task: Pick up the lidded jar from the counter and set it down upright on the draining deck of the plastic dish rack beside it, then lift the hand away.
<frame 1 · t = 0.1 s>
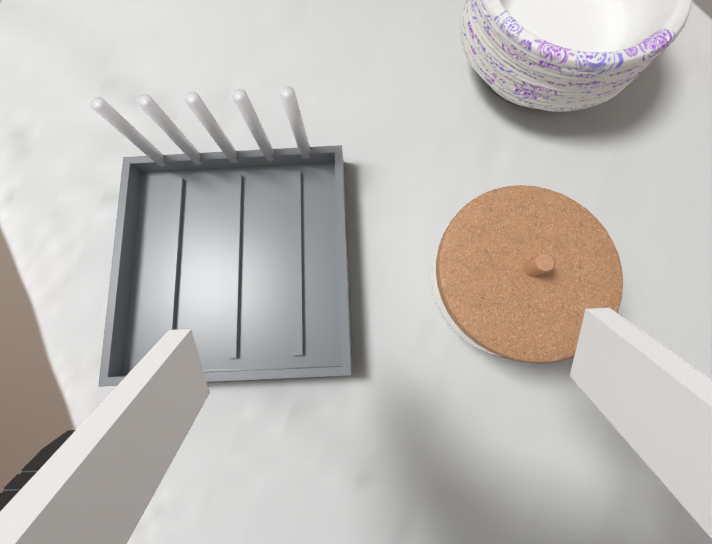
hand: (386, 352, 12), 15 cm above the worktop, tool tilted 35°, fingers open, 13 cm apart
lidded jar: (483, 289, 27), on the worktop
dish rack: (240, 265, 28), on the worktop
paper bowls: (530, 66, 32), on the worktop
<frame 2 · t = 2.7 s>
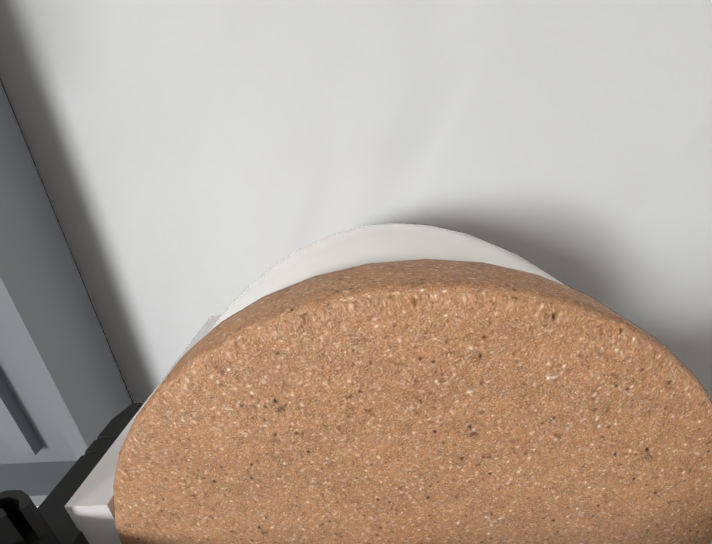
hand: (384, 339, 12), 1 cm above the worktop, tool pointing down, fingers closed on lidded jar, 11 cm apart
lidded jar: (382, 322, 13), on the worktop, touching gripper
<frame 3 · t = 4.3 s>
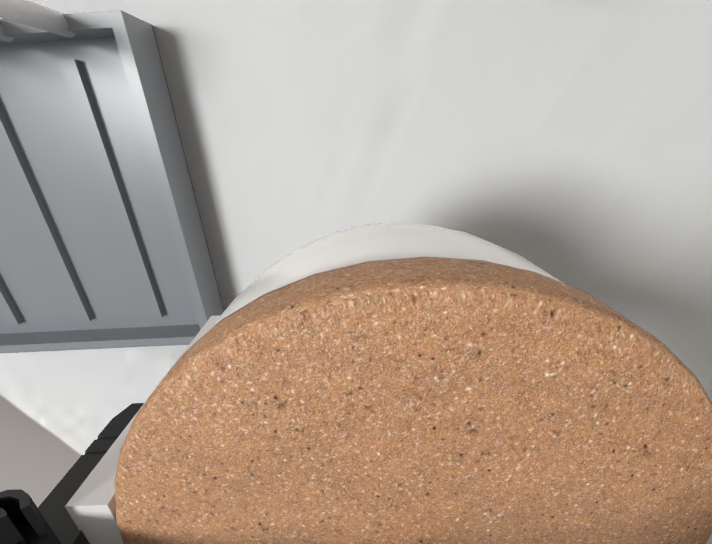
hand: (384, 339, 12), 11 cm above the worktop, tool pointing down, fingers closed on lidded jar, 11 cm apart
lidded jar: (382, 321, 13), point 10 cm above the worktop, touching gripper
dish rack: (54, 208, 21), on the worktop
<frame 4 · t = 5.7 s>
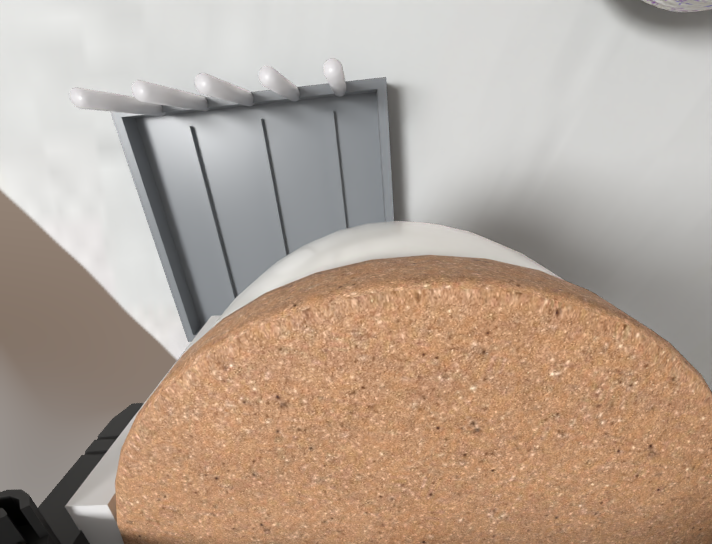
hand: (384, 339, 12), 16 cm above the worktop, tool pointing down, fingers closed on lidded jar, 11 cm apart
lidded jar: (383, 321, 13), point 15 cm above the worktop, touching gripper
dish rack: (279, 221, 27), on the worktop
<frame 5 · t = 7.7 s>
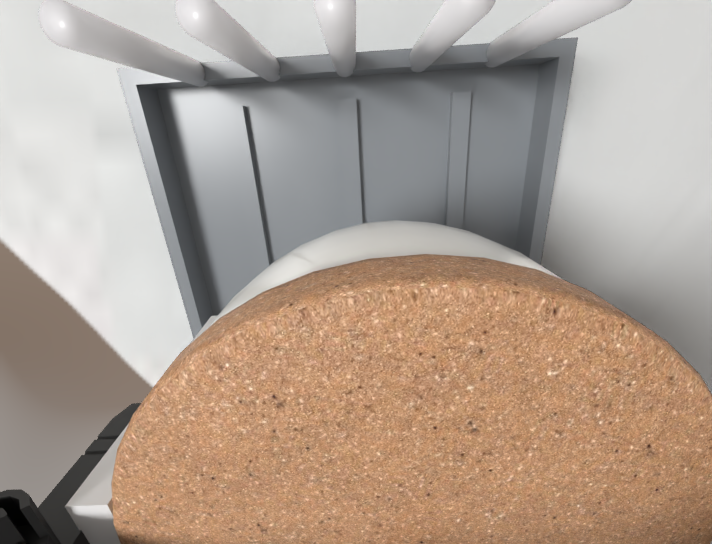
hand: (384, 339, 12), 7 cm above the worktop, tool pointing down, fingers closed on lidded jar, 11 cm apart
lidded jar: (382, 321, 13), point 6 cm above the worktop, touching gripper
dish rack: (356, 250, 19), on the worktop
when the fingers open (4 cm above the worktop, at t = 9.0 s): lidded jar drops 1 cm, resting on dish rack.
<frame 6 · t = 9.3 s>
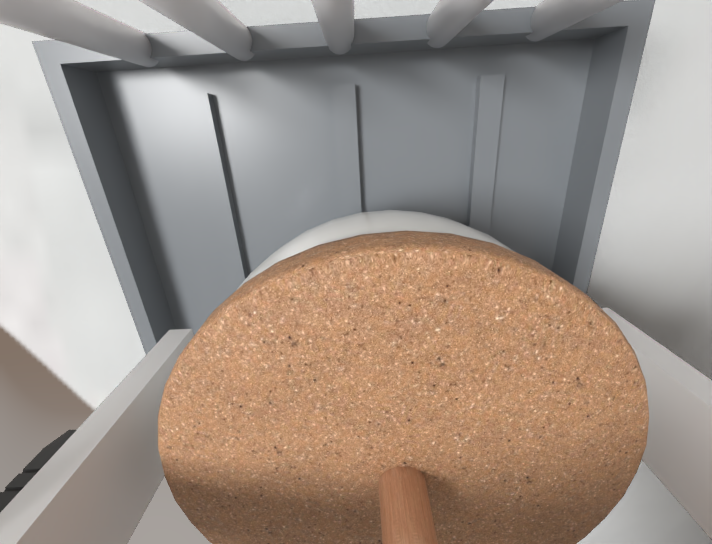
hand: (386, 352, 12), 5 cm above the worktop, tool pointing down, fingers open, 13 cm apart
lidded jar: (378, 304, 15), point 1 cm above the worktop, touching dish rack
dish rack: (355, 273, 15), on the worktop
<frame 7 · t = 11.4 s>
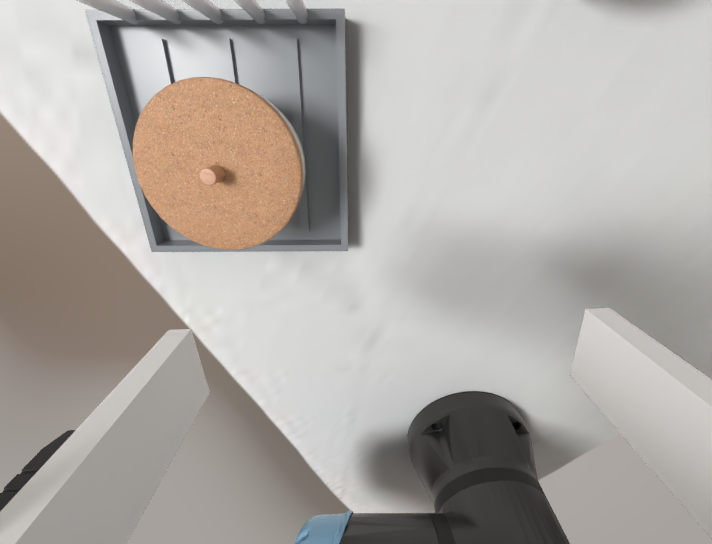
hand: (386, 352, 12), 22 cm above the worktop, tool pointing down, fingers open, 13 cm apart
lidded jar: (252, 158, 29), point 1 cm above the worktop, touching dish rack
dish rack: (243, 144, 29), on the worktop
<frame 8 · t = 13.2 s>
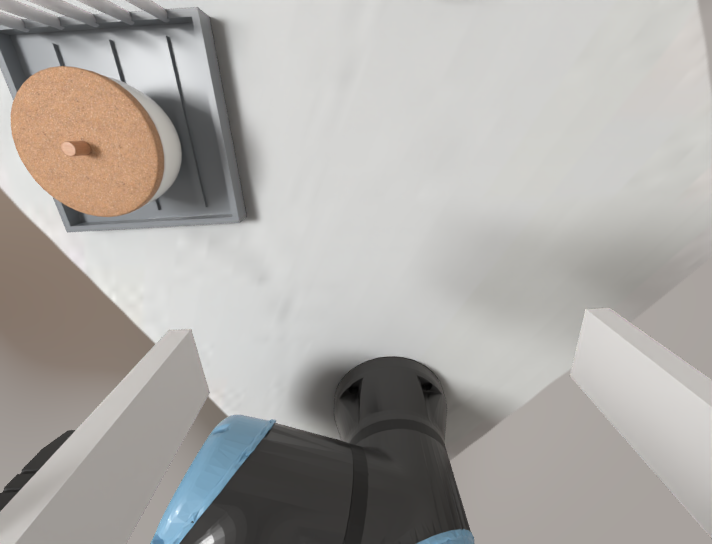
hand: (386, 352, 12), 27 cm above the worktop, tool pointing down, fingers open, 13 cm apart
lidded jar: (145, 143, 33), point 1 cm above the worktop, touching dish rack
dish rack: (140, 132, 33), on the worktop
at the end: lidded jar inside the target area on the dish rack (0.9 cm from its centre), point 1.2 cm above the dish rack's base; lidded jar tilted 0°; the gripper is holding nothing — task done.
